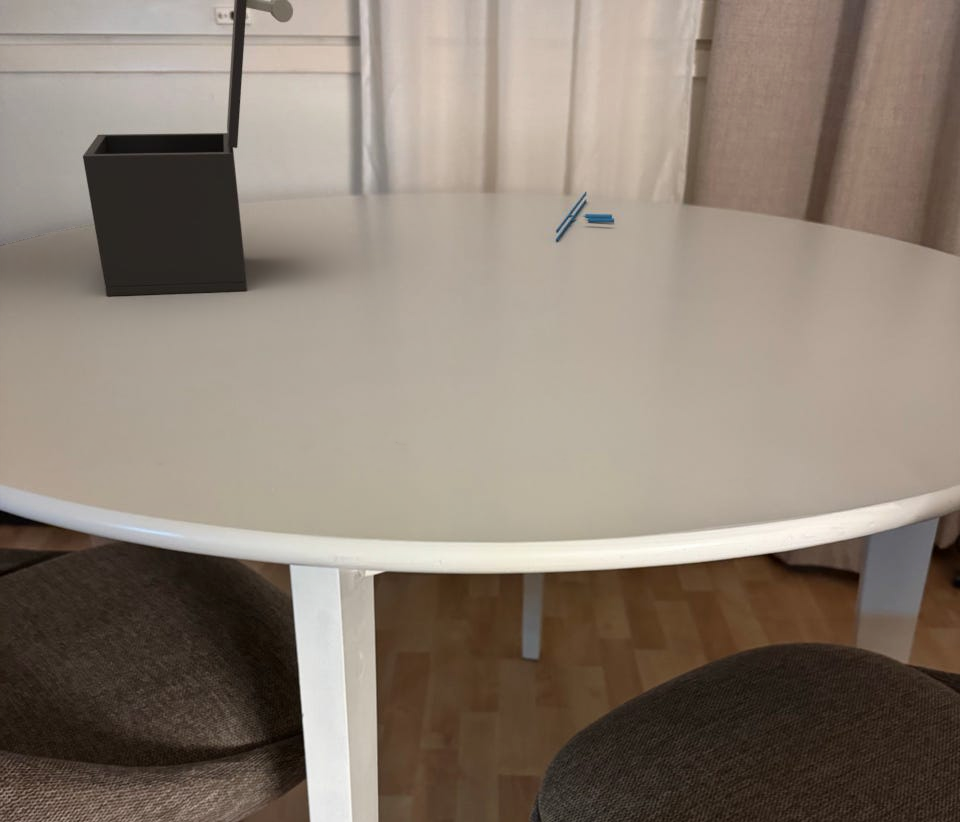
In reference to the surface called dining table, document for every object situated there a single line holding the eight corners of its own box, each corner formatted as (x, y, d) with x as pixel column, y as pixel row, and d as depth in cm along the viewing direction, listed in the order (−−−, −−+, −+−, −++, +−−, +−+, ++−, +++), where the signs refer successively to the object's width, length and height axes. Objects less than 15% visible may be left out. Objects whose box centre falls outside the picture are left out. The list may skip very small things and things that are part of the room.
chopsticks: (625, 191, 138) (585, 191, 139) (602, 229, 117) (556, 229, 118) (624, 203, 139) (585, 202, 140) (602, 243, 118) (555, 242, 119)
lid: (238, -34, 86) (298, -21, 87) (236, -34, 97) (289, -23, 98) (227, 146, 92) (283, 156, 94) (226, 127, 104) (276, 135, 105)
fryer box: (106, 296, 97) (82, 155, 91) (118, 261, 108) (97, 134, 102) (247, 290, 99) (233, 153, 93) (244, 257, 110) (231, 133, 104)
